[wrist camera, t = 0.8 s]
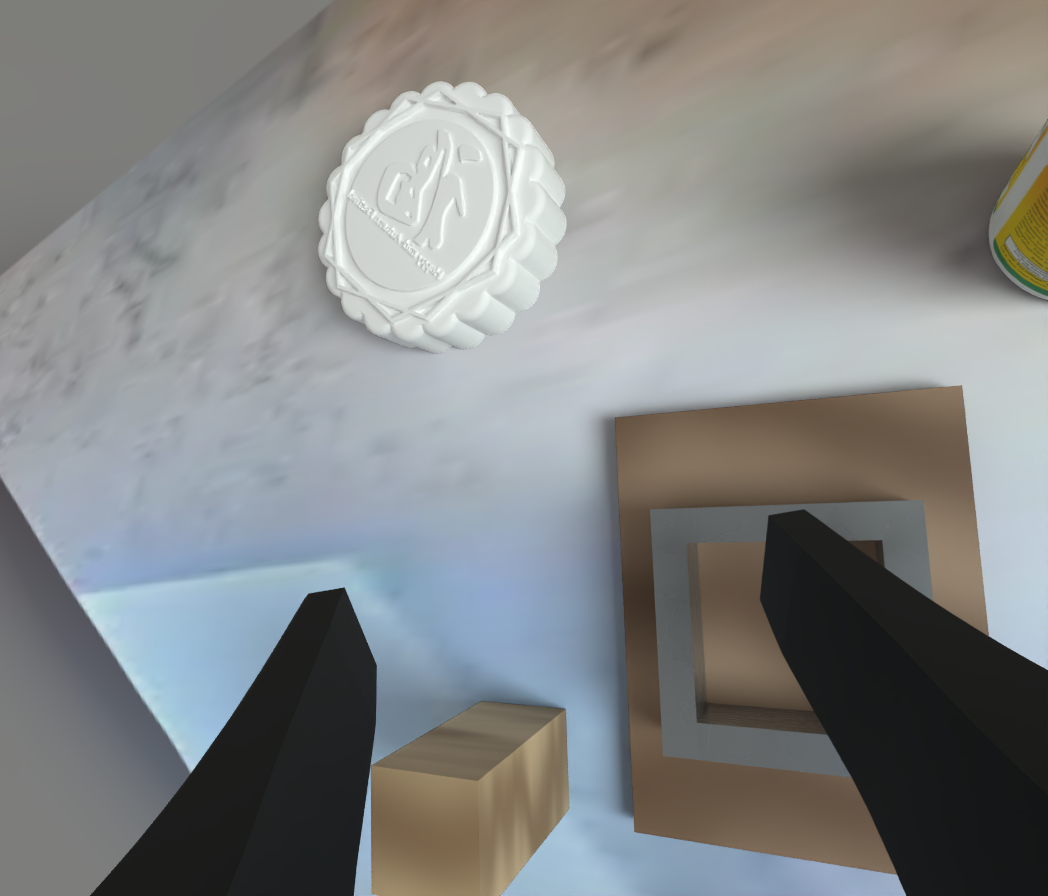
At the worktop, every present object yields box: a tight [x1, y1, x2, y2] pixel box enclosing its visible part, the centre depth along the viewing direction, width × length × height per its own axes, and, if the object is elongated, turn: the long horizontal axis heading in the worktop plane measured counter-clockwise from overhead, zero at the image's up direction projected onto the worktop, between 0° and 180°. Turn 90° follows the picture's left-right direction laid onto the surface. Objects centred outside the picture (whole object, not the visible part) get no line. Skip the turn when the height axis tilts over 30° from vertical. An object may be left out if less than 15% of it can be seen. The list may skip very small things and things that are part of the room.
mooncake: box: [318, 81, 567, 354], centre depth 30 cm, size 12×12×4 cm
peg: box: [371, 701, 569, 896], centre depth 24 cm, size 4×4×8 cm
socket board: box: [615, 385, 989, 875], centre depth 23 cm, size 16×12×4 cm
